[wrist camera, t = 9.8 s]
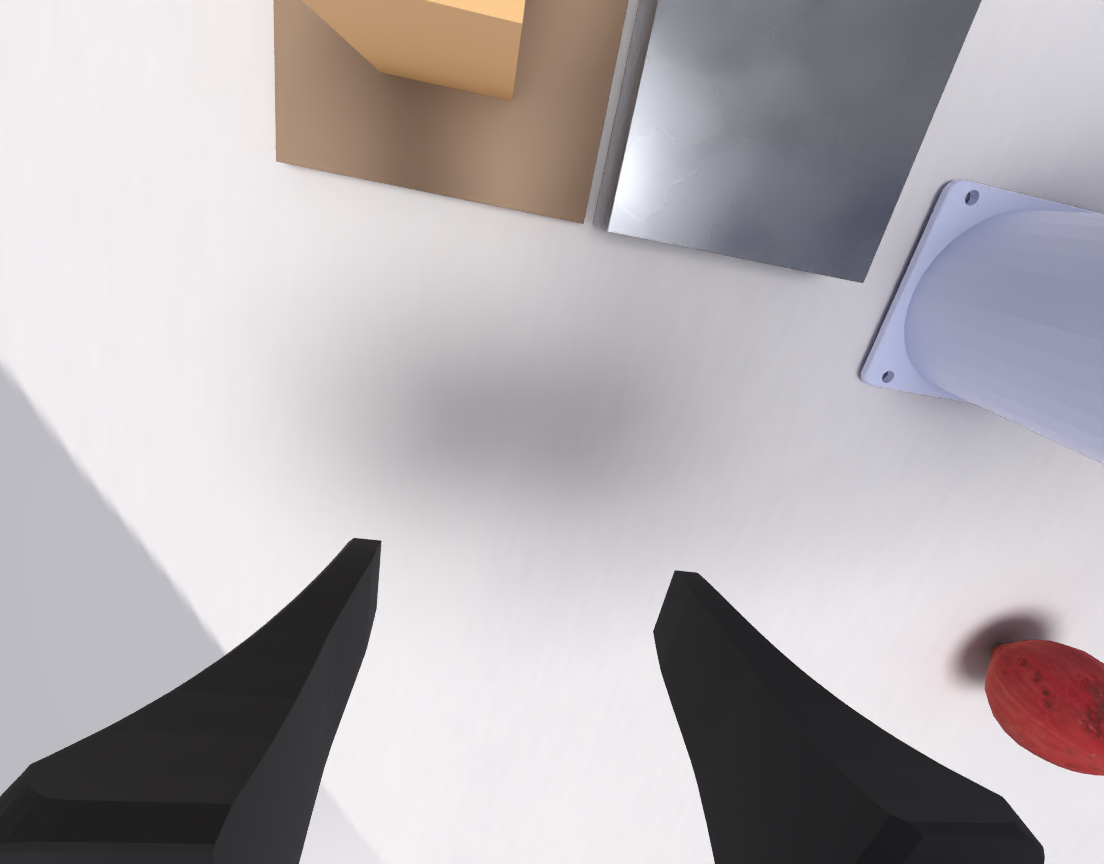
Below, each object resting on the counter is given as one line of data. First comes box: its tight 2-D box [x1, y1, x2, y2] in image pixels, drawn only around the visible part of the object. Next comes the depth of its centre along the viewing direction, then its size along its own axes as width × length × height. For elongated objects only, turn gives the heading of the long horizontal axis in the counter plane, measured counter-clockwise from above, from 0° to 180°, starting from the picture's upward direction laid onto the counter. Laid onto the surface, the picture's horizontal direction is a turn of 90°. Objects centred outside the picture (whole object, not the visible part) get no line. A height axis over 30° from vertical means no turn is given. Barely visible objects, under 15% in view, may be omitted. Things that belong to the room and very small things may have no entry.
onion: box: [985, 640, 1104, 776], centre depth 27 cm, size 6×6×8 cm
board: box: [274, 0, 628, 224], centre depth 16 cm, size 10×10×1 cm
